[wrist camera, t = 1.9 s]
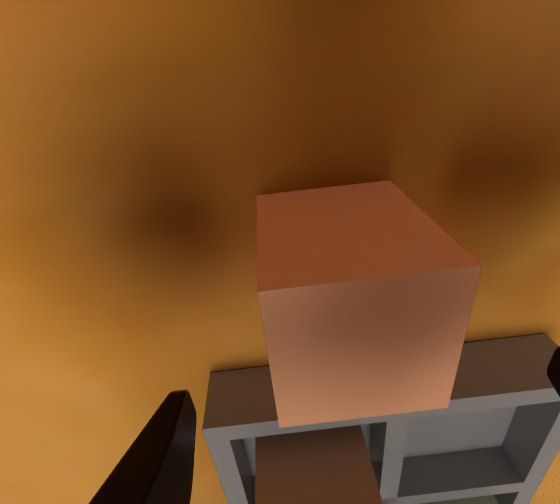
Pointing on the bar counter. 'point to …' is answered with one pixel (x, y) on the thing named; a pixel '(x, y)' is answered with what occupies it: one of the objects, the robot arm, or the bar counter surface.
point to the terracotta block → (359, 303)
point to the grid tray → (395, 438)
